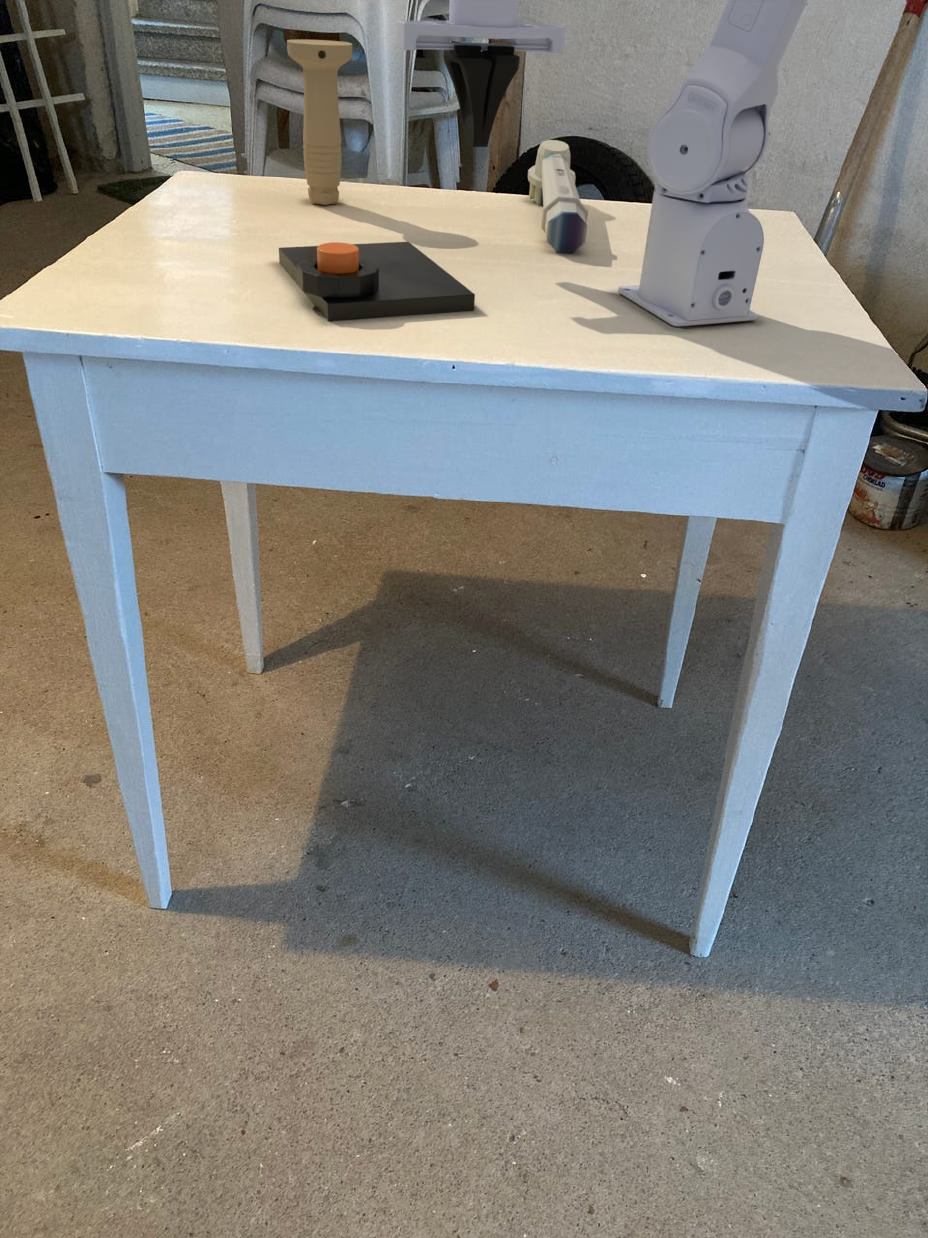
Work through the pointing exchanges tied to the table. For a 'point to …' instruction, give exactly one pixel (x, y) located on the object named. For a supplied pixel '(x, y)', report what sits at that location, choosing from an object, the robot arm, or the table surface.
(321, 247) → the button
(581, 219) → the blue-tipped octagonal rod
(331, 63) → the handle
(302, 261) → the scale
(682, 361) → the table surface
